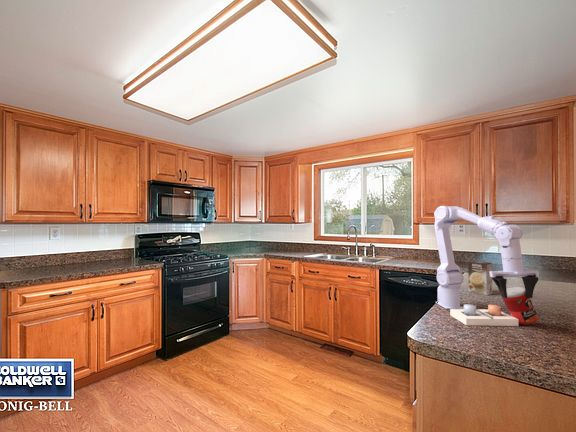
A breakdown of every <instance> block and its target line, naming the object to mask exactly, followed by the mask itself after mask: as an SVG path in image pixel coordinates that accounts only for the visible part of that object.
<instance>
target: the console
mask: <svg viewBox="0 0 576 432" xmlns="http://www.w3.org/2000/svg"><path fill="white" fill-rule="evenodd" d="M449 311H450V312H449V315H450V316H451V317H452V318H454V319H456V320H457V321H459V322H460V323H463V324H464V325H465V326H479V327H481V326H483V327H485V326H487V327H488V326H492V327H494V326H495V327H497V326H498V327H519V325H520V324H518V319H517V318H515V317H512V316H511V315H510V314H509V313H505V312H504V311H501V316H491V315H489V314H488V308H487V309H483V308H482V309H479V308H478V309H477V308H476V316H466V315H465V314H464V309H449Z"/></svg>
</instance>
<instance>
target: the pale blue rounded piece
mask: <svg viewBox="0 0 576 432" xmlns="http://www.w3.org/2000/svg"><path fill="white" fill-rule="evenodd" d="M463 307H464V314H465V315H466V316H476V309H477V305H473V304H470V303H469V304H467V303H466V304H465V303H464V304H463Z"/></svg>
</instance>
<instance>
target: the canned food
mask: <svg viewBox="0 0 576 432" xmlns="http://www.w3.org/2000/svg"><path fill="white" fill-rule="evenodd" d="M506 290H507V298H503V297H502V296H501V298H502V300H503V302H504V305H505V307H506V309H507V311H508V314H509V315H510V316H512V317H515V318H517V319H518V324H519V325H531V324H535V323H537V321H539V314H538V313H537V311H536V308H535V306H534V304H533V302H532V300H531V298H528V297H526V293H525V287H522V286H521V287H520V286H513V287H506Z"/></svg>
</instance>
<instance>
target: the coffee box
mask: <svg viewBox="0 0 576 432" xmlns="http://www.w3.org/2000/svg"><path fill="white" fill-rule="evenodd" d="M467 266H468V269H467V270H468V271H467V272H468V274H467V275H468V276H467V279H468V283H467V284H468V285H467V286H468V290H467V291H468V292H469V293H473V294H477V295H484V296H489V295H492V294H493V280H492V277H490V273H489V271H493V262H487V261H481V260H479V261H478V260H471V261H468V262H467Z"/></svg>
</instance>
